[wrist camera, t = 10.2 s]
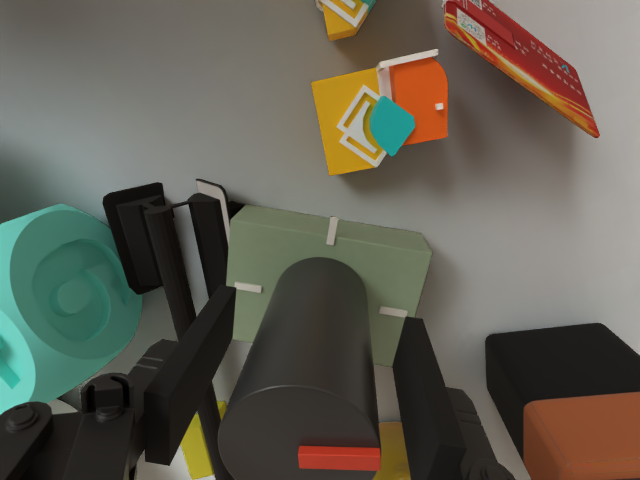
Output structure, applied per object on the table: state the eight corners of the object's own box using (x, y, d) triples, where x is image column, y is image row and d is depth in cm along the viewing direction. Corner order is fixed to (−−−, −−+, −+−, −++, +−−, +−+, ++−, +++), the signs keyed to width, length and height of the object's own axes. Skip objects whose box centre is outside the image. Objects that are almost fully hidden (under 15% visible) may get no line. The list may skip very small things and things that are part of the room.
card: (449, 22, 12) (448, -35, 15) (440, 33, 13) (441, -25, 15) (605, 137, 15) (580, 68, 17) (595, 143, 15) (571, 75, 18)
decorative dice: (-12, 233, 23) (-192, 297, 15) (97, 190, 21) (-42, 238, 14) (61, 339, 25) (-62, 440, 17) (163, 307, 23) (76, 403, 16)
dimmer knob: (278, 338, 20) (225, 515, 12) (270, 257, 19) (200, 392, 10) (367, 338, 20) (381, 522, 11) (366, 255, 18) (383, 395, 9)
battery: (597, 378, 23) (767, 564, 14) (484, 388, 24) (571, 570, 15) (602, 318, 22) (795, 481, 12) (482, 331, 23) (576, 492, 13)
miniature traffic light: (269, 477, 36) (212, 165, 24) (307, 523, 32) (261, 177, 20) (202, 533, 31) (93, 191, 20) (237, 594, 28) (126, 212, 16)
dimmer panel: (236, 323, 24) (220, 355, 21) (247, 186, 21) (230, 200, 18) (390, 350, 24) (397, 385, 21) (426, 215, 20) (439, 234, 17)
